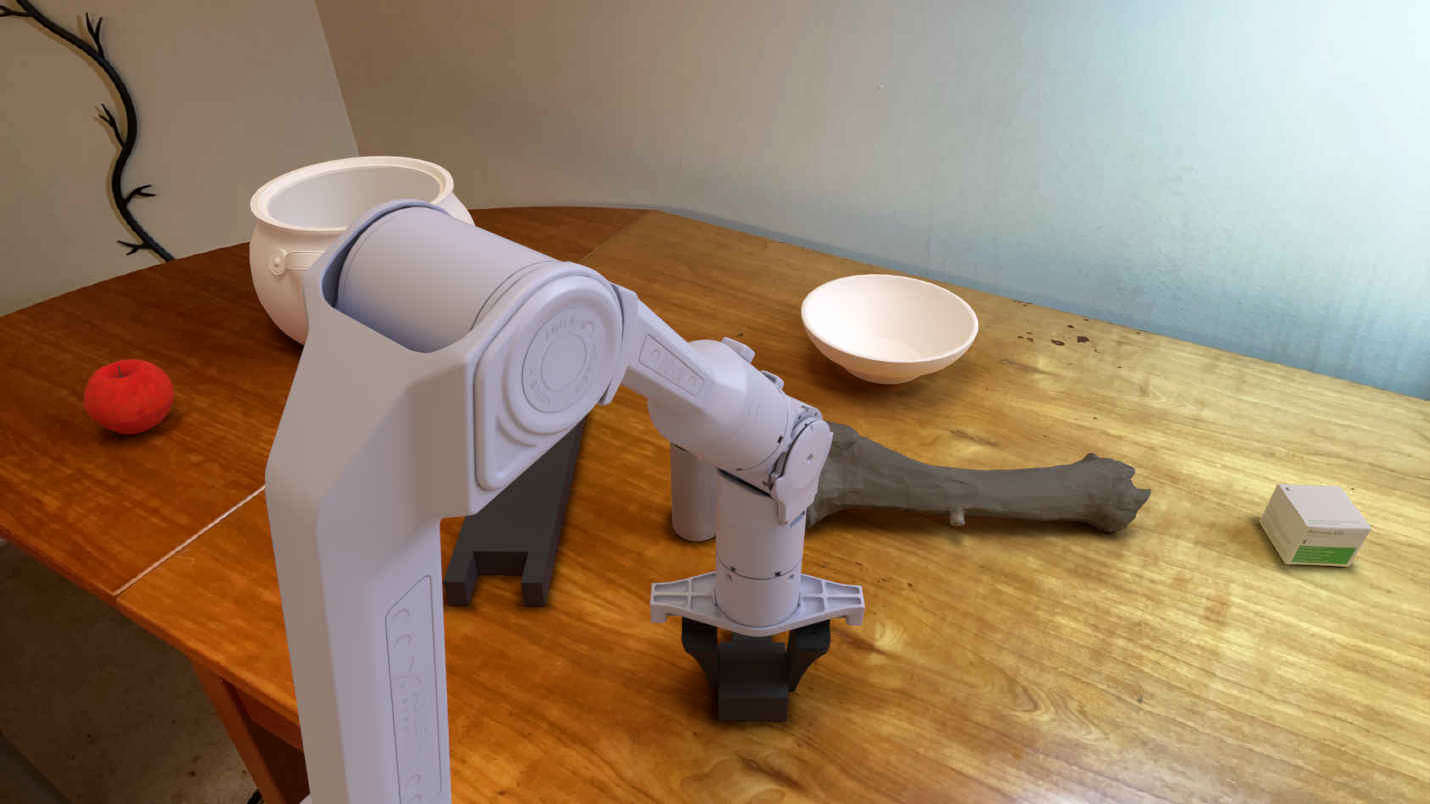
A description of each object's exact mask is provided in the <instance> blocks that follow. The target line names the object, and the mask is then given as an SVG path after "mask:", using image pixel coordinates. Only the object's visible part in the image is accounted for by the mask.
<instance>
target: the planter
mask: <svg viewBox="0 0 1430 804" xmlns="http://www.w3.org/2000/svg"><path fill="white" fill-rule="evenodd" d="M669 448H670V449H669V453H670V454H669V455H670V456H669V457H670V490H671V491H670V492H671V493H670V494H671V496H670V497H671V523H672V529H673V531H674V533H675V534H676V535H677V536H679V537H680V538H682V539H684V540H686V541H689V542H690V541H691V542H704V541H709V540H710V539H713V538H714V537H716V482H717V467H716V466H714V465H712V464H711V463H710V462H708V461H706V460H704V461H700V460H699V459H698V457H697V456H696V455H694V454H693V453H691V452H689V451H687V450H685V449H683V448H681V447H679V446H678V445H676V444H674V443H672V442H670V441H669Z"/></svg>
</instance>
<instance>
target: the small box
mask: <svg viewBox="0 0 1430 804" xmlns="http://www.w3.org/2000/svg"><path fill="white" fill-rule="evenodd" d="M1258 522H1259V524H1260V526H1261V528H1262V529H1263V531H1264V533H1265V535H1266V536H1267V538H1268V540H1269V541H1270V543H1271V544H1272V546H1273V548H1274V549H1275V550H1276V552H1277V554H1278V556H1279V557H1280V559H1281V560H1282V562H1283V564H1284V565H1304V566H1305V565H1307V566H1327V567H1329V566H1331V567H1343V568H1345V567H1346V568H1348V567H1350V566H1351V565H1352V563H1353V561H1354V559H1355V558H1356V556H1357V554H1358V552H1359V551H1360V549H1361V548H1362V547H1363V544H1364V542H1365V541H1366V539H1367V537H1368V536H1369V534H1370V532H1371V531H1372V526H1371V525H1370V524H1369V522H1368V521H1367V519H1366V518H1365V517H1364V516H1363V514H1362V513H1361V511H1359V509H1358V508H1357V506H1355V504H1354V503H1353V501H1352V500H1351V498H1350V497H1349V496H1348V495H1347V493H1346V491H1344V489H1343V488H1342V486H1340V485H1339V486H1338V485H1334V486H1333V485H1313V484H1287V483H1286V484H1284V483H1277V484H1276V486H1275V488H1274V490H1273V492H1272V494H1271V496H1270V498H1269V500H1268V503H1267V504H1266V507H1265V509H1264V511H1263V513H1262V515H1261V517H1260V519H1259V521H1258Z"/></svg>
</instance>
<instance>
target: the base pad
mask: <svg viewBox="0 0 1430 804" xmlns="http://www.w3.org/2000/svg"><path fill="white" fill-rule="evenodd" d="M586 416H587V415H586ZM586 416H585V417H584V418H583V419H582V420H581V421H580V422H579V423H578V424H577V425H576V426H575V427H574V428H573V429H571V430H570V431H569V432H568V433H567V434H566V435H565V436H564V437H563V438H561V439H560V440H559V441H558V442H557V443H556V444H555V445H553V446H552V447H551V448H550V449H549V450H548V451H547V452H546V453H544V454H543V455H542V456H541V457H540V458H539V459H538V460H536V461H535V462H534V463H533V464H532V465H531V466H530V467H529V468H527V469H526V470H525V471H524V472H523V473H522V474H521V475H520V476H518V477H517V478H516V479H515V480H514V481H513V482H512V483H510V484H509V485H508V486H507V487H506V488H505V489H504V490H503V491H501V492H500V493H499V494H498V495H497V496H496V497H495V498H493V499H492V500H491V501H490V502H489V503H488V504H487V505H486V506H484V507H483V508H482V509H481V510H480V511H479V512H478V513H476V514H475V515H470V516H464V520H463V521H462V525H461V529H460V531H459V534H458V537H457V539H456V543H455V545H454V548H453V551H452V554H451V557H450V560H449V562H448V566H447V568H446V570H445V571H446V572H445V574H444V577H443V579H442V585H443V588H444V592H445V596H446V600H447V605H448V606H470V603H471V599H472V596H473V593H474V590H475V587H476V583H477V580H478V576H479V575H500V576H501V575H503V576H505V575H507V576H509V575H510V576H521V581H520V587H521V592H522V598H523V604H524V606H525V607H546V603H547V599H548V594H549V589H550V585H551V580H552V576H553V572H554V566H555V562H556V557H557V552H558V547H559V543H560V539H561V538H560V537H561V535H562V534H561V533H562V529H563V524H564V520H565V514H566V509H567V506H568V500H569V496H570V491H571V488H572V487H571V486H572V482H573V478H574V473H575V469H576V464H577V458H578V455H579V449H580V444H581V440H582V437H583V430H584V426H585V422H586V418H587V417H586Z"/></svg>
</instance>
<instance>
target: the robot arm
mask: <svg viewBox="0 0 1430 804" xmlns="http://www.w3.org/2000/svg"><path fill="white" fill-rule="evenodd" d="M302 289H303V298H304V307H305V315H306V324H307V333H308V337H307V340H306V343H305V346H304V345H303V349H302V352H301V356H300V359H299V361H298V365H297V368H296V371H295V374H294V377H293V381H292V383H291V386H290V390H289V393H288V396H287V399H286V403H285V406H284V408H283V412H282V415H281V417H280V420H279V424H278V427H277V430H276V434H275V436H274V439H273V442H272V446H271V449H270V452H269V455H268V459H267V462H266V466H265V469H264V470H265V471H264V472H265V474H264V496H265V502H266V510H267V515H268V522H269V527H270V535H271V542H272V548H273V555H274V563H275V568H276V575H277V582H278V588H279V595H280V601H281V609H282V615H283V621H284V628H285V629H284V630H285V635H286V643H287V648H288V649H287V650H288V654H289V655H288V656H289V662H290V669H291V674H292V675H291V676H292V680H293V681H292V682H293V687H294V694H295V700H296V701H295V702H296V708H297V715H298V720H299V721H298V722H299V728H300V734H301V740H302V747H303V754H304V760H305V767H306V773H307V781H308V787H309V794H308V795H307V796H306V797H304V799H303V800H301V801H300V803H299V804H452V803H453V802H452V783H451V782H452V781H451V778H452V777H451V758H450V757H451V756H450V755H451V754H450V736H449V735H450V734H449V713H448V711H449V709H448V690H447V689H448V687H447V668H446V667H447V666H446V665H447V663H446V646H445V645H446V643H445V640H446V639H445V620H444V617H445V616H444V597H443V594H444V593H443V574H442V550H441V526H440V525H441V524H440V523H441V522H442V519H447V518H457V517H459V518H460V517H465V516H470V515H475V514H476V513H478V512H479V511H480V510H481V509H482V508H483V507H484V506H486V505H487V504H488V503H489V502H490V501H491V500H492V499H493V498H495V497H496V496H497V495H498V494H499V493H500V492H501V491H503V490H504V489H505V488H506V487H507V486H508V485H509V484H510V483H512V482H513V481H514V480H515V479H516V478H517V477H518V476H520V475H521V474H522V473H523V472H524V471H525V470H526V469H527V468H529V467H530V466H531V465H532V464H533V463H534V462H535V461H536V460H538V459H539V458H540V457H541V456H542V455H543V454H544V453H546V452H547V451H548V450H549V449H550V448H551V447H552V446H553V445H555V444H556V443H557V442H558V441H559V440H560V439H561V438H563V437H564V436H565V435H566V434H567V433H568V432H569V431H570V430H571V429H573V428H574V427H575V426H576V425H577V424H578V423H579V422H580V421H581V420H582V419H583V418H584V417H585V416H587V415H588V414H589V413H590V412H592V410H593V409H594V407H595V406H596V405H598V406H600V407H602V406H603V407H604V406H606V405H609V404H610V403H612V401H613V399H614V397H615V395H616V393H617V392H618V389H619V387H620V385H621V386H623V387H624V388H627V389H628V390H631V391H632V392H633V393H636V394H638V395H640V396H642V397H644V398H645V399H646V400H647V403H646V404H647V410H648V414H649V419H650V421H651V423H652V425H653V426H654V428H655V429H656V431H657V432H658V433H659V434H660V435H661V437H663V438H664V439H666V440H667V441H668V442H669V443H670V442H672V443H674V444H676V445H678V446H679V447H681V448H683V449H685V450H687V451H689V452H691V453H693V454H694V455H696V456H697V457H698V459H699V460H700V461H704V460H706V461H708V462H710V463H711V464H712V465H714V466H716V467H717V482H716V535H715V570H714V571H710V572H705V573H701V574H699V575H694V576H689V577H685V578H683V579H679V580H674V581H673V580H672V581H668V582H651V589H650V599H649V609H650V610H649V611H650V612H649V613H650V623H651V624H664V623H667V621H668V617H681V634H680V635H681V637H680V639H681V645H682V647H683V650H684V652H685V653H687V654H688V655H690V656H691V657H692V658H693V659H694V660H695V661H696V662H697V664H698V665H699V666H700V668H701V671H702V672H703V673H704V676H705V678H706V680H707V683H708V687H709V691H710V692H718V691H719V638H718V637H719V636H718V628H719V629H723V630H726V631H730V632H732V631H733V632H736V633H740V634H743V635H747V636H754V637H762V636H770V635H772V636H775V635H778V634H781V633H785V632H788V637H787V644H786V668H787V683H788V693H795V692H797V691H796V690H797V688H798V685H799V683H800V682H801V680H802V678H803V676H804V674H806V671H807V670H808V669H809V668H810V667H811V665H813V663H814V662H815V661H817V660H818V659H820V658H821V657H823V656H824V655H827V653H828V651H829V649H830V646H831V643H832V642H831V641H832V634H831V619H845V624H846V625H847V626H863V621H864V616H865V615H864V614H865V608H866V606H865V605H866V603H865V599H864V594H863V593H864V591H863V586H862V585H859V584H857V585H856V584H846V583H840V582H835V581H831V580H829V579H824V578H820V577H817V576H814V575H809V574H806V573H803V572H802V567H803V566H802V565H803V555H804V543H805V534H806V533H805V532H806V529H805V522H806V511H807V508H808V507H809V506H810V505H811V504H812V503H813V501H814V497H815V494H816V493H817V488H818V480H819V476H820V473H821V470H822V468H823V466H824V464H825V461H826V459H827V456H828V454H829V451H830V447H831V443H832V438H833V432H831V433H830V429H829V426H828V424H827V423H826V422H825V421H826V420H824V418H823V414H822V412H821V410H820V409H819V408H817V407H814V406H813V405H811V404H808V403H805V402H804V401H801V400H798V399H796V398H795V397H792V396H790V395H788V394H787V393H786V392H785V391H784V390H783V389H784V386H785V382H784V380H783V379H782V378H780V377H779V376H778V375H777V374H774V373H772V372H770V371H766V370H763V369H762V370H758V369H757V368H756V367H755V366H754V365H752V364H751V363H752V361H753V359H754V357H755V355H756V353H755V352H754V350H753V349H752V348H750V347H749V346H748V345H746V344H745V343H742V342H740V341H737V340H735V339H733V338H730V337H727V336H724V337H722V340H721V341H717V340H713V339H697V340H691V341H688V342H687V340H685V339H684V338H683V337H682V336H681V335H680V334H678V332H676V331H675V330H674V328H672V327H670V326H669V325H668V324H667V323H666V322H665V321H664V320H663V319H662V318H661V317H660V316H658V314H656V313H655V312H654V311H653V310H652V309H650V308H649V307H648V306H647V305H646V304H645V303H644V302H642V300H640V298H639V297H638V294H637V293H636V291H634V290H632V289H628V288H626V287H624V286H622V285H619V284H616V283H615V282H612V281H610V280H607V279H606V277H605V276H603V275H602V274H601V273H599V271H597V270H595V269H593V268H591V267H588V266H587V265H582V264H580V263H576V262H572V261H570V260H569V261H562V260H559V259H556V258H554V257H551V256H550V255H547V254H544V253H542V252H539V251H537V250H534V249H532V248H529V247H527V246H525V245H522V244H520V243H519V242H515V241H513V240H510V239H508V238H506V237H503V236H501V235H498V234H496V233H493V232H491V231H488V230H486V229H483V228H481V227H478V226H476V225H475V226H474V225H471V224H469V223H467V222H464V221H462V220H459V219H457V218H454V217H453V216H451V215H450V214H449V213H448V212H447V211H445V210H444V209H443V208H440V207H438V206H436V205H433V204H431V203H429V202H426V201H422V200H418V199H397V200H391V201H387V202H384V203H381V204H379V205H377V206H375V207H373V208H370V209H369V210H367V211H366V212H365V213H363V214H362V215H360V216H359V217H358V218H357V219H356V220H355V221H353V222H352V223H351V224H350V225H349V226H348V227H347V228H346V229H345V231H344V232H343V233H342V234H341V235H340V236H339V237H338V238H337V239H336V240H335V241H334V242H333V243H332V244H331V245H330V246H329V248H328V249H327V250H326V251H325V252H324V253H323V254H322V255H321V256H320V257H319V258H318V259H317V260H316V261H315V262H314V263H313V264H312V265H311V267H310V268H309V269H308V270H307V271H306V272H305V273H304V274H303V275H302ZM585 418H586V417H585Z"/></svg>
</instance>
